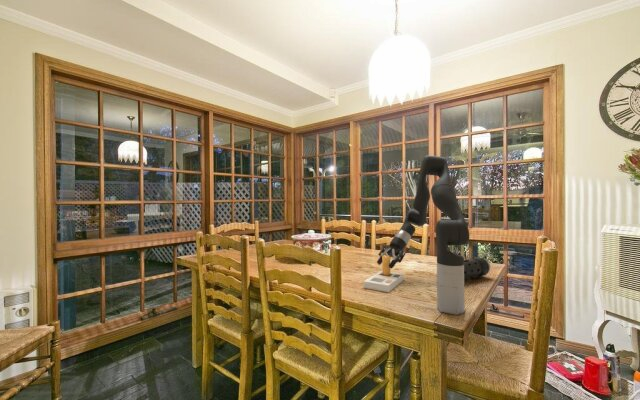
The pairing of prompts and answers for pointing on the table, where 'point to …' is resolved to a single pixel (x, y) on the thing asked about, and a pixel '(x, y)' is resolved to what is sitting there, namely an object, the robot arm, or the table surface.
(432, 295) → the table surface
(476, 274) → the muzzle brake
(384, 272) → the plug
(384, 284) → the socket plate
